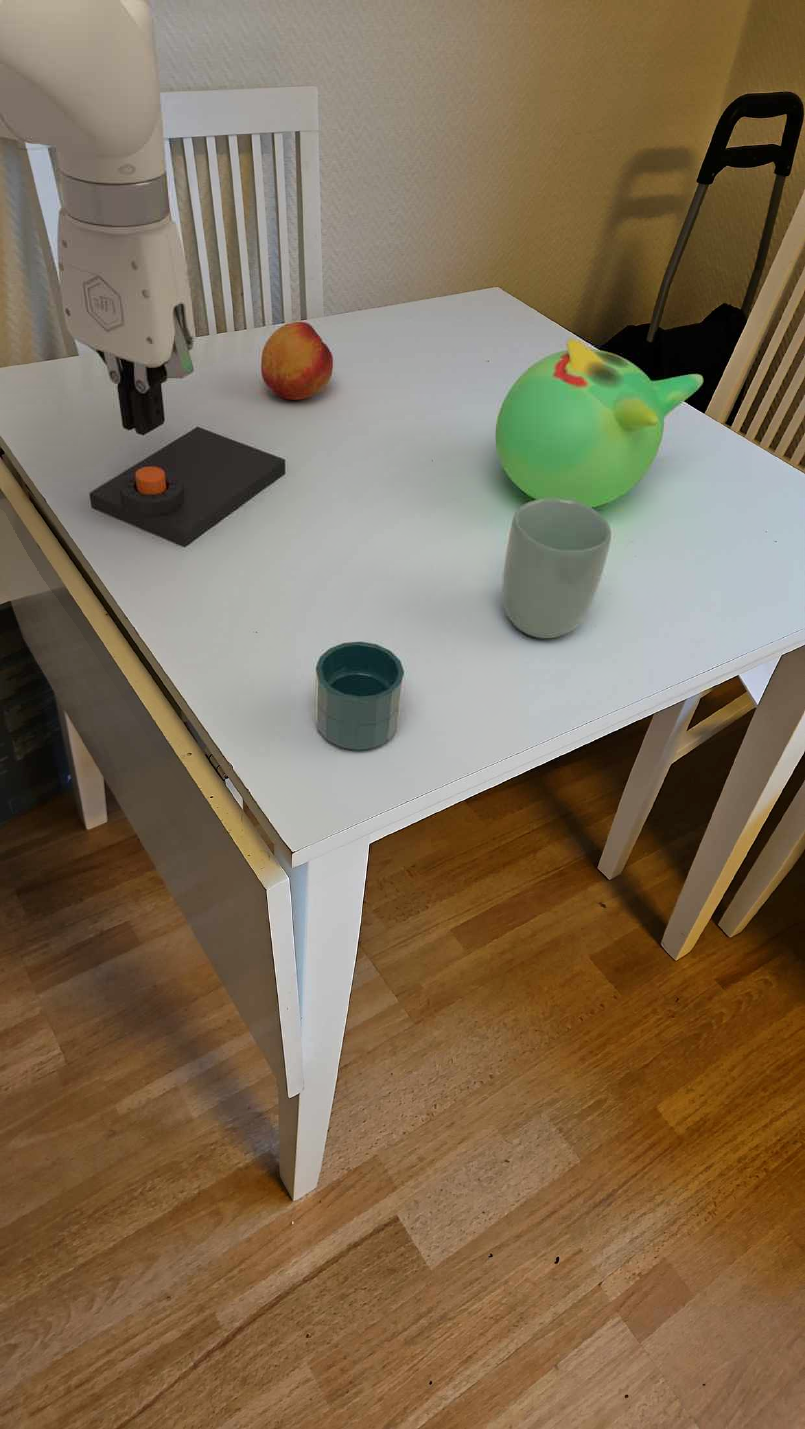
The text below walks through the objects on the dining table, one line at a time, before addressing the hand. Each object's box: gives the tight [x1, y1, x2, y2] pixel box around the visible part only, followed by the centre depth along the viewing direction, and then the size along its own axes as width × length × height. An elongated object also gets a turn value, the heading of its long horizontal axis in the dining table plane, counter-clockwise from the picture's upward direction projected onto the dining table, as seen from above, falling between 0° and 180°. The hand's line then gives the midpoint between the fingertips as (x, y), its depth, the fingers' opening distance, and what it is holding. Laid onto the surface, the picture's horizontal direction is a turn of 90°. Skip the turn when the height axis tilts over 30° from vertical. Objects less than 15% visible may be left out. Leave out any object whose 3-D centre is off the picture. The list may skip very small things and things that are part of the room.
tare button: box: [135, 467, 166, 495], centre depth 87 cm, size 3×3×2 cm
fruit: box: [260, 321, 334, 401], centre depth 106 cm, size 8×8×8 cm
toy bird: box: [495, 338, 704, 508], centre depth 93 cm, size 18×17×15 cm
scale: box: [88, 426, 286, 548], centre depth 92 cm, size 16×11×3 cm
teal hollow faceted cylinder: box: [314, 641, 405, 751], centre depth 70 cm, size 6×6×6 cm
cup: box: [501, 498, 612, 639], centre depth 79 cm, size 8×8×10 cm
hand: (144, 425), depth 83 cm, fingers closed
